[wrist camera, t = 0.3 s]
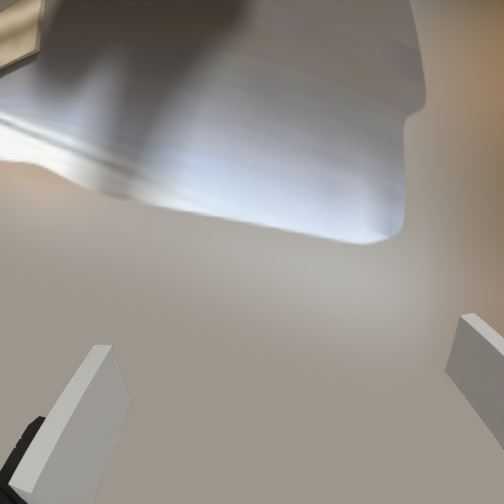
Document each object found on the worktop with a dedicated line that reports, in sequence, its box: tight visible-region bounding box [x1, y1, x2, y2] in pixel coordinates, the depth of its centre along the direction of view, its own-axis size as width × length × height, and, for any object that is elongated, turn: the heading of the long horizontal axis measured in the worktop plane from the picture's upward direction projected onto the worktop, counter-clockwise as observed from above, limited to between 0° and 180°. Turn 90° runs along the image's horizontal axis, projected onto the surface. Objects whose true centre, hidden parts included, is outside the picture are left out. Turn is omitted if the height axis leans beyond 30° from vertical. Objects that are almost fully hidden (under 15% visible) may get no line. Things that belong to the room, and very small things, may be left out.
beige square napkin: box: [0, 0, 46, 70], centre depth 27 cm, size 11×11×1 cm
